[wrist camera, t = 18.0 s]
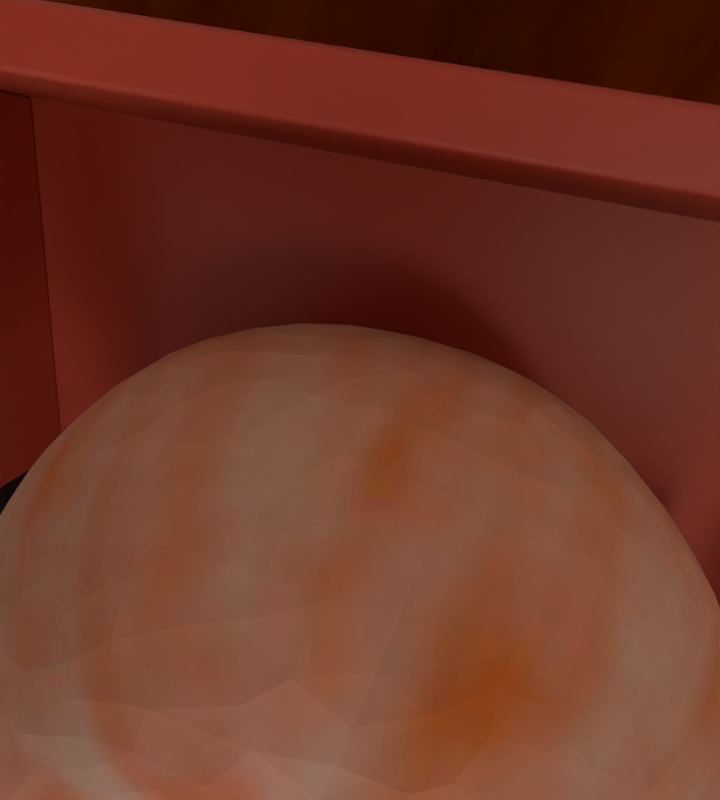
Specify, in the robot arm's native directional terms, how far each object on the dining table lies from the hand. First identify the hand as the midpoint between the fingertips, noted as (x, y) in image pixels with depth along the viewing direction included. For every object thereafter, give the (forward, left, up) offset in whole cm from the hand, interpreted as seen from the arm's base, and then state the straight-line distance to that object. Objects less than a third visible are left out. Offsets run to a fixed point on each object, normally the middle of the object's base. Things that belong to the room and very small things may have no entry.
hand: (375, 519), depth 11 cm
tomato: (0, 0, 0) cm, 0 cm away
